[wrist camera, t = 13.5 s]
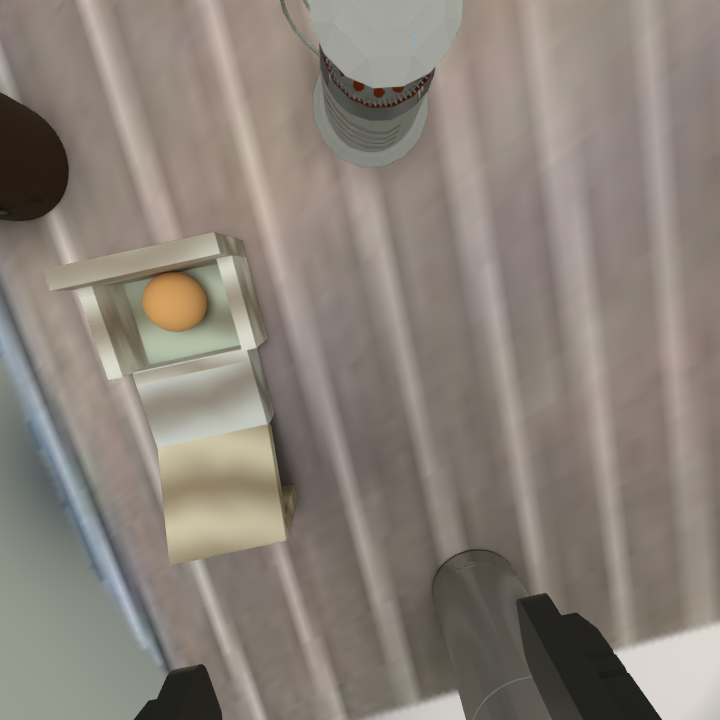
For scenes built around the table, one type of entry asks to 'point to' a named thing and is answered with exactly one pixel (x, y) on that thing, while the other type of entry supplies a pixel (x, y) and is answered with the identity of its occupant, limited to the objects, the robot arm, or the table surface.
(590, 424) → the table surface
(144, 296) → the ball
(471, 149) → the table surface
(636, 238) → the table surface
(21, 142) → the olive oil
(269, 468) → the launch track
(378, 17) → the french press
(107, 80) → the table surface
